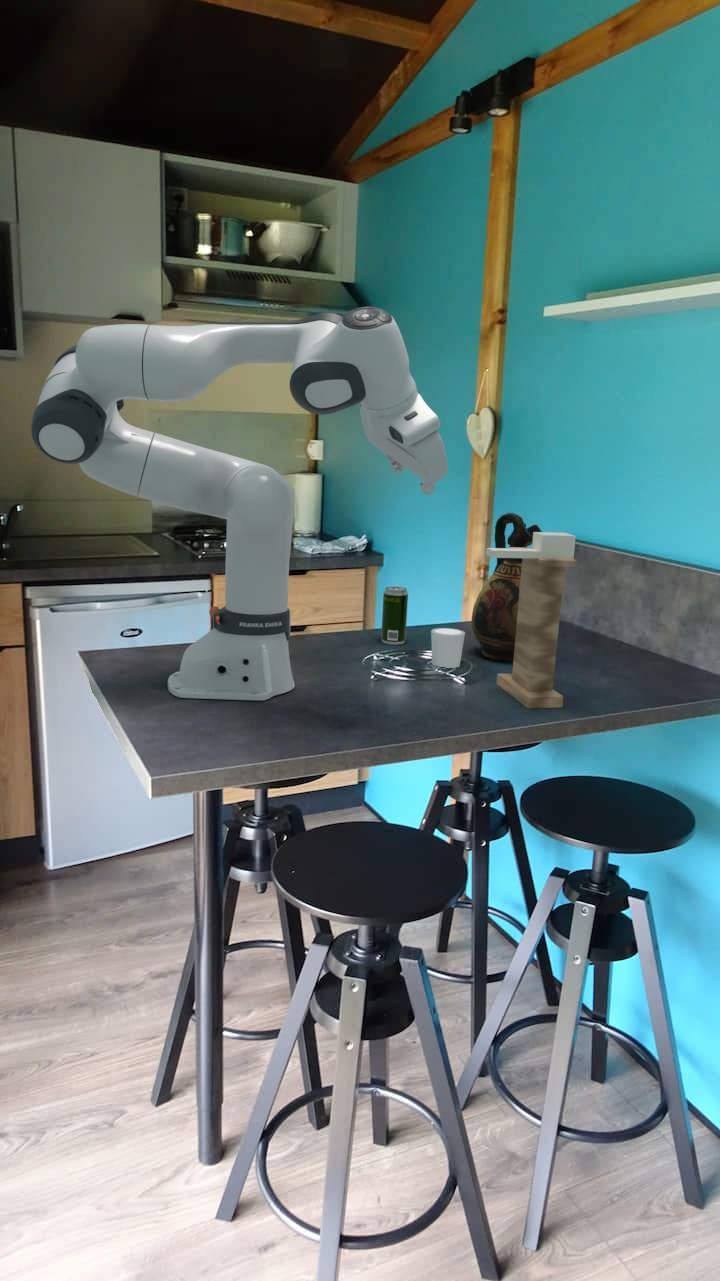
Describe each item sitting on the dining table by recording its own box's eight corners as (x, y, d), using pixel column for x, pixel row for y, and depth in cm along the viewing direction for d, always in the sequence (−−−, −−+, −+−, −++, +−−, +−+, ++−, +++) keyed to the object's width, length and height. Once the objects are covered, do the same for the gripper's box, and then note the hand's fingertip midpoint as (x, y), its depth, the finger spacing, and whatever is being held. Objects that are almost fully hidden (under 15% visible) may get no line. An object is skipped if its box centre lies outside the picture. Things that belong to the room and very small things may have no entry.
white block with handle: (493, 558, 154) (495, 534, 154) (484, 554, 158) (486, 531, 157) (573, 559, 158) (575, 535, 157) (563, 555, 162) (565, 532, 161)
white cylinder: (465, 669, 184) (468, 635, 182) (431, 668, 184) (433, 634, 182) (460, 661, 191) (462, 627, 189) (426, 660, 190) (429, 626, 189)
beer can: (406, 645, 201) (409, 591, 198) (382, 644, 201) (384, 590, 198) (403, 639, 207) (406, 586, 204) (379, 639, 206) (382, 586, 203)
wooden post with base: (527, 708, 161) (541, 559, 155) (496, 683, 175) (508, 546, 169) (562, 707, 162) (577, 559, 156) (528, 683, 177) (541, 546, 170)
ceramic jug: (557, 660, 195) (571, 517, 188) (503, 668, 186) (515, 519, 179) (502, 642, 208) (513, 508, 201) (449, 649, 200) (459, 510, 193)
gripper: (343, 397, 150) (366, 466, 160) (410, 442, 136) (431, 515, 145) (375, 379, 151) (396, 448, 161) (445, 421, 137) (463, 495, 146)
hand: (413, 480), depth 153 cm, fingers open, 8 cm apart
